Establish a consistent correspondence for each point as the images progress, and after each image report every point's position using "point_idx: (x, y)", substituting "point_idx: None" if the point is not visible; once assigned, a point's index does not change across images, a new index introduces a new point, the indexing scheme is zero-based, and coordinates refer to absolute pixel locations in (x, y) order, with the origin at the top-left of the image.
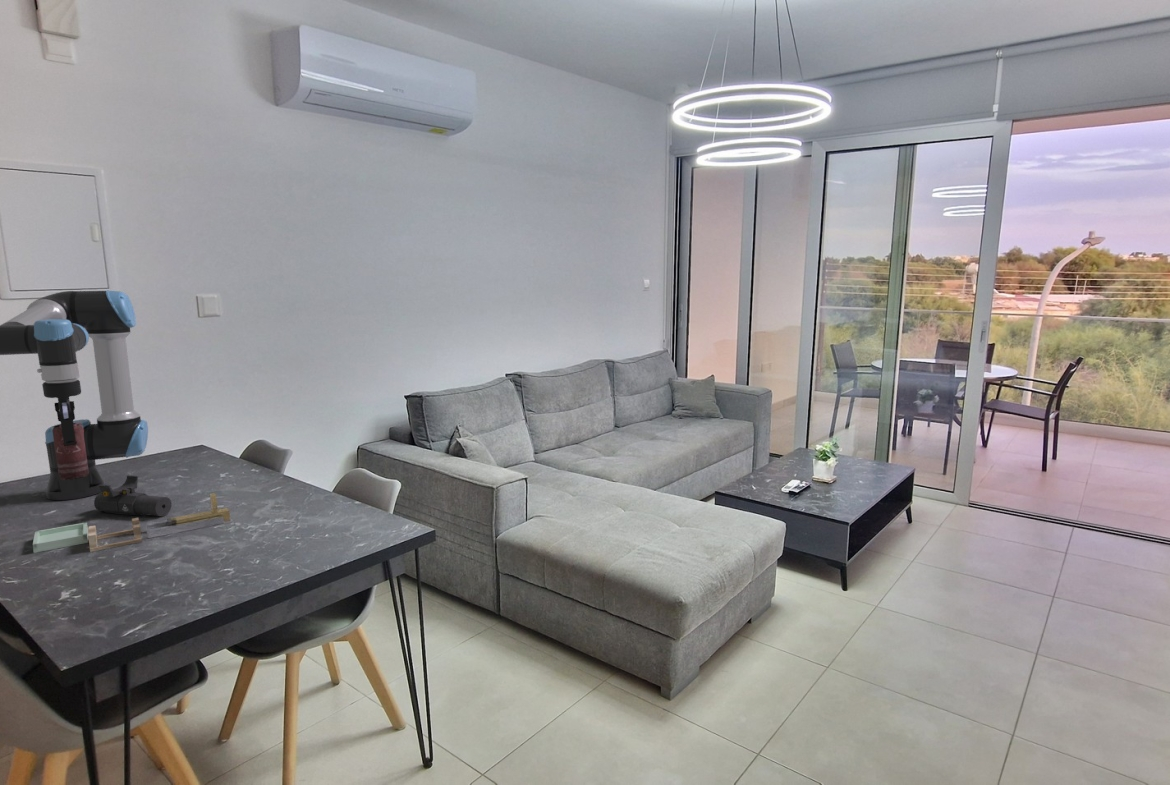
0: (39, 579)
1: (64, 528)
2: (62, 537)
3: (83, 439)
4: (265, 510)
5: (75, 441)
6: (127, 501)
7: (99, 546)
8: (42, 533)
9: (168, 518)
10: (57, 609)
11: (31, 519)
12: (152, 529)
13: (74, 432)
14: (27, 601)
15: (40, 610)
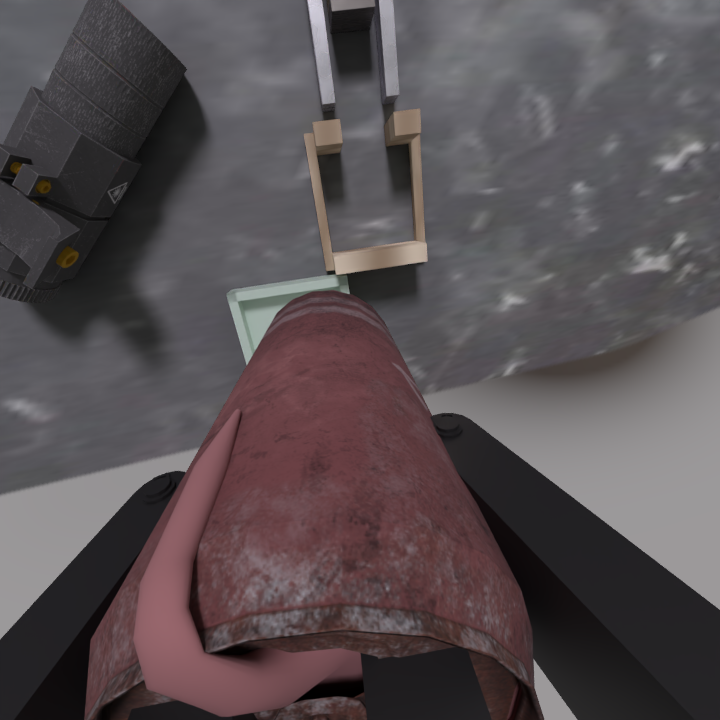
0: (532, 327)
1: (250, 342)
2: None
3: (345, 383)
4: None
5: (488, 433)
6: (99, 178)
7: (419, 235)
8: None
9: (330, 3)
10: (712, 265)
11: (86, 435)
12: (390, 77)
13: (601, 523)
14: (631, 323)
15: (691, 293)
